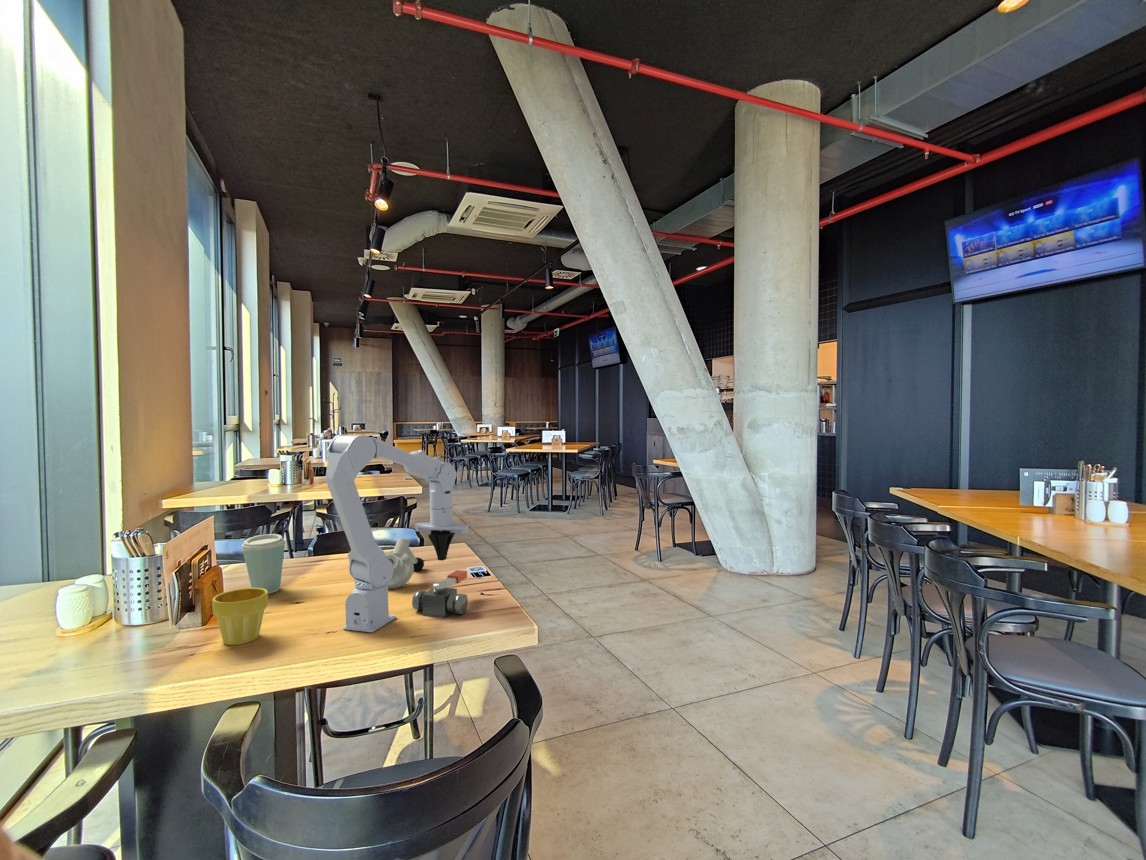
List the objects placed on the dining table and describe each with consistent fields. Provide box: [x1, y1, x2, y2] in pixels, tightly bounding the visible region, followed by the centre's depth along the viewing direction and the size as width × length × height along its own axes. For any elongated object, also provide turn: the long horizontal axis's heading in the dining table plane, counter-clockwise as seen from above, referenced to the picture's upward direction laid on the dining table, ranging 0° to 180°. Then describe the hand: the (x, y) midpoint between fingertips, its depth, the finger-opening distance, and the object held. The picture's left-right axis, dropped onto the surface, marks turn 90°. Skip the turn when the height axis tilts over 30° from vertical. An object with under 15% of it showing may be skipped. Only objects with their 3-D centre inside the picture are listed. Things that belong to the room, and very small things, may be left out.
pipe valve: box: [411, 587, 469, 618], centre depth 133 cm, size 6×13×5 cm, turn 74°
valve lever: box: [432, 569, 468, 592], centre depth 138 cm, size 13×3×2 cm, turn 164°
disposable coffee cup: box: [240, 533, 286, 595], centre depth 150 cm, size 11×11×15 cm
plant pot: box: [211, 587, 269, 646], centre depth 118 cm, size 10×10×10 cm
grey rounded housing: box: [384, 538, 425, 590], centre depth 159 cm, size 10×20×15 cm
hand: (442, 559), depth 142 cm, fingers closed
